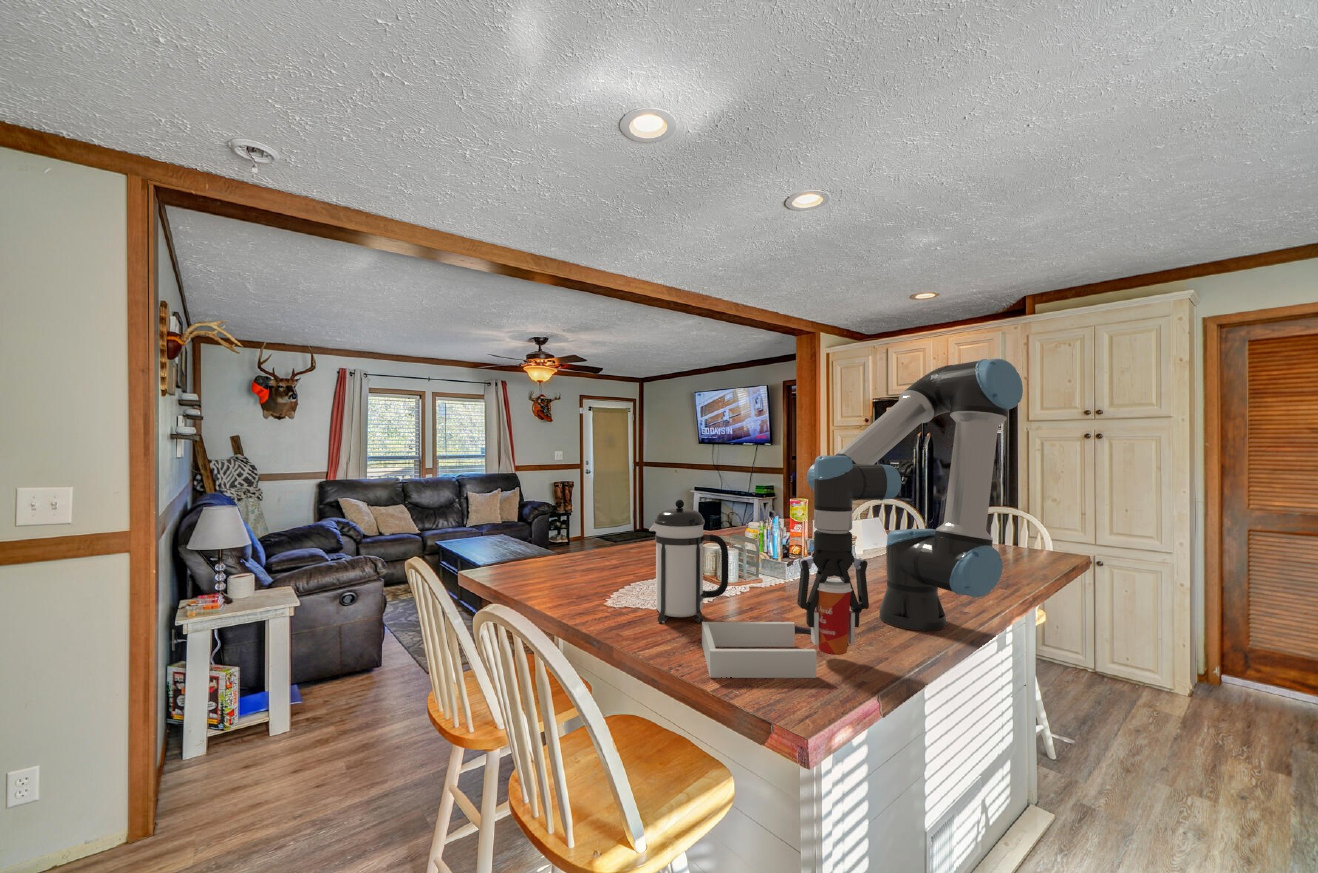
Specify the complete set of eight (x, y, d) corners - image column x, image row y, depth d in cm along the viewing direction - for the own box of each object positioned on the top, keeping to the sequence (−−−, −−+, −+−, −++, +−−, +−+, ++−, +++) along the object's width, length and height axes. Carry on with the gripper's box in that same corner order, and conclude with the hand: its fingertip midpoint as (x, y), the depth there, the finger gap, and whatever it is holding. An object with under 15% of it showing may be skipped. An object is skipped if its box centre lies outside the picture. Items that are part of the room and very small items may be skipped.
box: (793, 644, 122) (793, 622, 122) (816, 677, 105) (816, 651, 105) (701, 644, 122) (702, 621, 122) (710, 677, 105) (710, 651, 105)
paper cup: (807, 643, 117) (807, 577, 118) (842, 642, 118) (842, 576, 118) (821, 657, 109) (821, 586, 110) (859, 656, 110) (859, 586, 110)
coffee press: (682, 631, 131) (682, 504, 131) (638, 616, 142) (638, 499, 143) (730, 616, 142) (730, 499, 143) (685, 603, 154) (686, 495, 155)
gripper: (873, 527, 118) (872, 636, 118) (781, 527, 118) (780, 636, 117) (888, 533, 110) (888, 649, 110) (789, 533, 110) (789, 649, 110)
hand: (832, 642), depth 114 cm, fingers closed on paper cup, 7 cm apart
